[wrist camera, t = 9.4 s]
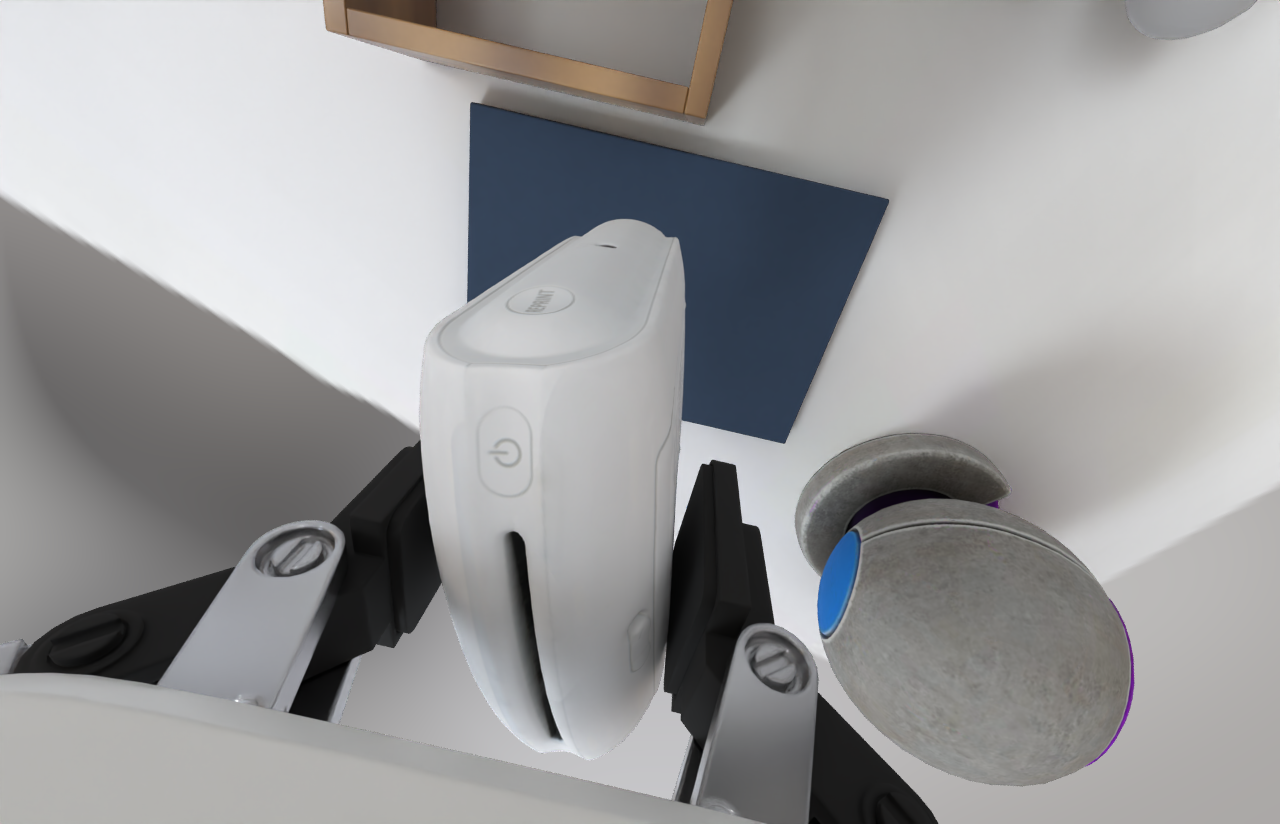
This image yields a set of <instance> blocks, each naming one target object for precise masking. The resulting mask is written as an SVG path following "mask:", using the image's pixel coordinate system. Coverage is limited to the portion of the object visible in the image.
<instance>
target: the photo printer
mask: <svg viewBox="0 0 1280 824" xmlns="http://www.w3.org/2000/svg"><path fill="white" fill-rule="evenodd" d="M685 307H686V302H685V279H684V267H683V260H682V254H681V249H680V244H679V240H678V238H676V237H665V236H664V235H663V233H662V232H661V231H659V230H658V229H656V228H655V227H653V226H651V225H649V224H647V223H644V222H641V221H638V220H632V219H616V220H612V221H608V222H605V223H603V224H601V225H599V226H597V227H595V228H594V229H592V230H591V231H589V232H588V233H586V234H585V235H583V236H582V237H580V236H573V237H570V238H568V239H566V240H564V241H562V242H561V243H559V244H557V245H556V246H554V247H553V248H551V249H550V250H548V251H546V252H545V253H543V254H542V255H540V256H539V257H537V258H536V259H534V260H533V261H531V262H530V263H528V264H526V265H525V266H523V267H522V268H520V269H519V270H517V271H516V272H514V273H513V274H511V275H510V276H508V277H506V278H505V279H503V280H502V281H500V282H499V283H497V284H496V285H494V286H492V287H491V288H489V289H488V290H486V291H485V292H483V293H482V294H481V295H479V296H478V297H476V298H475V299H473V300H471V301H470V302H468V303H467V304H465V305H464V306H462V307H461V308H459V309H458V310H456V311H455V312H453V313H452V314H450V315H448V316H447V317H445V318H444V319H442V320H441V321H440V322H439V323H437V324H436V325H435V327H434V328H433V329H432V331H431V332H430V333H429V335H428V337H427V339H426V341H425V345H424V356H423V365H422V373H421V383H420V406H419V422H420V438H421V454H422V464H423V475H424V483H425V492H426V500H427V506H428V513H429V523H430V527H431V532H432V539H433V544H434V549H435V554H436V559H437V564H438V568H439V573H440V577H441V582H442V586H443V589H444V593H445V596H446V600H447V604H448V608H449V611H450V615H451V618H452V622H453V625H454V628H455V631H456V634H457V637H458V640H459V643H460V645H461V648H462V651H463V654H464V656H465V658H466V661H467V663H468V666H469V668H470V670H471V673H472V675H473V677H474V679H475V681H476V683H477V685H478V687H479V689H480V690H481V692H482V694H483V696H484V697H485V699H486V701H487V703H488V704H489V706H490V707H491V709H492V710H493V711H494V713H495V714H496V715H497V717H498V718H499V720H500V721H501V722H502V723H503V724H504V725H505V726H506V727H507V729H508V730H509V731H510V732H511V733H512V734H514V735H515V736H516V737H517V738H518V739H519V740H520V741H522V742H523V743H524V744H526V745H527V746H529V747H530V748H532V749H533V750H535V751H537V752H539V753H549V752H554V751H565V752H570V753H574V754H576V755H578V756H580V757H581V758H583V759H586V760H593V759H595V758H598V757H601V756H603V755H604V754H606V753H608V752H609V751H611V750H613V749H614V748H615V747H617V746H618V745H619V744H620V743H621V742H623V741H624V740H625V739H626V738H627V737H628V736H629V734H630V733H631V732H632V731H633V730H634V729H635V727H636V726H637V725H638V723H639V722H640V720H641V718H642V716H643V715H644V713H645V712H646V710H647V709H648V707H649V705H650V703H651V700H652V698H653V696H654V695H655V693H656V692H657V690H658V687H659V684H660V681H661V677H662V672H663V668H664V661H665V653H666V644H667V635H668V626H669V613H670V596H671V579H672V561H673V542H674V522H675V504H676V487H677V472H678V459H679V453H680V433H681V419H682V401H683V378H684V350H685Z"/></svg>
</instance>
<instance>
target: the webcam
mask: <svg viewBox="0 0 1280 824" xmlns="http://www.w3.org/2000/svg"><path fill="white" fill-rule="evenodd" d="M1010 494H1011V488H1010V486H1009V485H1008V483H1007V482H1006V480H1005V478H1004V477H1003V476H1002V474H1001V473H1000V471H999V470H998V469H997V468H996V467H995V466H994V465H993V464H992V463H991V462H990V461H989V460H988V459H987V458H986V457H985V456H984V455H983V454H982V453H980V452H979V451H977V450H976V449H975V448H973V447H971V446H969V445H967V444H965V443H962V442H960V441H957V440H954V439H951V438H947V437H943V436H937V435H927V434H902V435H894V436H888V437H883V438H879V439H875V440H871V441H869V442H866V443H863V444H861V445H858V446H855V447H853V448H851V449H849V450H847V451H845V452H843V453H841V454H840V455H838V456H837V457H835V458H834V459H832V460H831V461H830V462H828V463H827V464H825V465H824V466H823V467H822V468H821V469H820V470H819V471H818V472H817V473H816V474H815V475H814V476H813V477H812V479H811V480H810V481H809V482H808V484H807V485H806V487H805V488H804V490H803V492H802V494H801V496H800V498H799V500H798V504H797V508H796V513H795V528H796V534H797V538H798V541H799V544H800V547H801V550H802V552H803V554H804V556H805V558H806V560H807V561H808V563H809V564H810V566H811V567H812V568H813V569H814V570H815V572H816V573H817V574H818V575H819V576H821V580H820V586H819V592H818V604H817V607H818V623H819V631H820V635H821V639H822V643H823V646H824V650H825V652H826V655H827V658H828V660H829V663H830V665H831V668H832V670H833V672H834V674H835V675H836V677H837V679H838V681H839V682H840V684H841V686H842V687H843V689H844V690H845V692H846V693H847V695H848V697H849V698H850V699H851V701H852V702H853V703H854V704H855V706H856V707H857V708H858V709H859V710H860V712H861V713H862V714H863V715H864V717H866V719H868V720H869V721H870V722H871V723H872V724H873V725H874V726H875V727H876V728H877V729H878V730H879V731H880V732H881V733H882V734H884V735H885V736H886V737H887V738H889V739H890V740H891V741H892V742H894V743H895V744H896V745H897V746H899V747H900V748H901V749H903V750H904V751H906V752H908V753H909V754H911V755H913V756H914V757H916V758H918V759H920V760H921V761H923V762H925V763H926V764H928V765H930V766H932V767H935V768H937V769H939V770H941V771H944V772H946V773H948V774H951V775H954V776H957V777H960V778H963V779H966V780H969V781H974V782H979V783H984V784H990V785H1008V786H1009V785H1010V786H1027V785H1036V784H1045V783H1048V782H1050V781H1053V780H1056V779H1058V778H1061V777H1063V776H1066V775H1069V774H1071V773H1074V772H1076V771H1078V770H1079V769H1081V768H1083V767H1085V766H1088V765H1090V764H1092V763H1093V762H1095V761H1096V760H1098V759H1099V758H1100V757H1101V756H1102V755H1103V754H1105V753H1106V751H1107V750H1108V749H1109V748H1110V746H1111V745H1112V744H1113V743H1114V741H1115V740H1116V738H1117V736H1118V734H1119V733H1120V731H1121V729H1122V727H1123V725H1124V723H1125V721H1126V719H1127V716H1128V713H1129V710H1130V706H1131V702H1132V698H1133V690H1134V663H1133V653H1132V648H1131V644H1130V639H1129V636H1128V632H1127V629H1126V626H1125V624H1124V622H1123V620H1122V618H1121V616H1120V614H1119V611H1118V610H1117V608H1116V607H1115V605H1114V604H1113V602H1112V601H1111V600H1110V599H1109V598H1108V597H1107V595H1106V593H1105V591H1104V590H1103V588H1102V587H1101V585H1100V584H1099V582H1098V581H1097V580H1096V578H1095V577H1094V576H1093V574H1092V573H1091V572H1090V571H1089V569H1088V568H1087V567H1086V566H1085V565H1084V564H1083V563H1082V562H1081V561H1080V560H1079V559H1078V558H1077V557H1076V556H1075V555H1074V554H1073V553H1072V552H1071V551H1070V550H1069V549H1068V548H1066V547H1065V546H1064V545H1063V544H1062V543H1060V542H1059V541H1058V540H1057V539H1055V538H1054V537H1052V536H1051V535H1049V534H1048V533H1047V532H1045V531H1044V530H1042V529H1040V528H1038V527H1036V526H1035V525H1033V524H1031V523H1029V522H1027V521H1026V520H1024V519H1022V518H1020V517H1017V516H1015V515H1012V514H1010V513H1007V512H1005V511H1003V510H1000V509H999V508H998V501H997V500H999V499H1002V498H1005V497H1007V496H1009V495H1010Z"/></svg>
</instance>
